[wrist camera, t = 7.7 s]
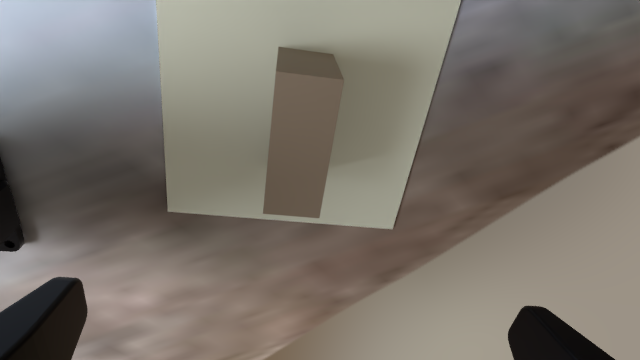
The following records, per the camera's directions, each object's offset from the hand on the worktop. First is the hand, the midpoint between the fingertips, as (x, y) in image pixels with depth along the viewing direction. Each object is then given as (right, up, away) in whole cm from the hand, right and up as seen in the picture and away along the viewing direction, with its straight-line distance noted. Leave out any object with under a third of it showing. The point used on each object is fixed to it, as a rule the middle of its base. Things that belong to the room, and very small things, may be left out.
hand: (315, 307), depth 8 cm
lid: (-1, +6, +11) cm, 13 cm away
